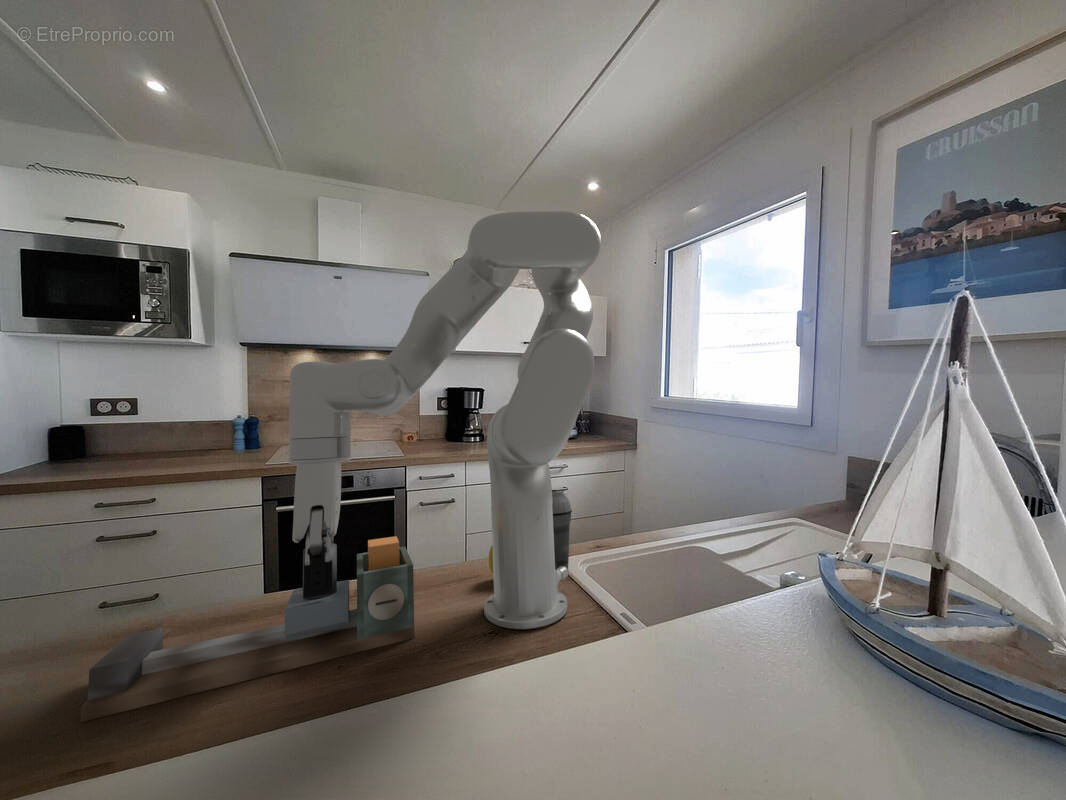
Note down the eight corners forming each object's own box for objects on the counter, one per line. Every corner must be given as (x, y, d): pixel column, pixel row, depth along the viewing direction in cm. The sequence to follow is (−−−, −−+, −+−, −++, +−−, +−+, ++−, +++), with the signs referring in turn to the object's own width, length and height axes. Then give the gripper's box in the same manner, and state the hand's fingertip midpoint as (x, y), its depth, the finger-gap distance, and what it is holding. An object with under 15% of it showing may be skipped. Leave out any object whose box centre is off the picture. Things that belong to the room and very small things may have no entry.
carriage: (349, 608, 56) (349, 537, 57) (348, 629, 50) (348, 550, 50) (293, 619, 53) (294, 545, 54) (284, 643, 47) (285, 559, 48)
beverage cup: (578, 579, 69) (573, 467, 71) (538, 582, 69) (533, 469, 71) (571, 565, 77) (566, 464, 78) (535, 568, 76) (530, 466, 78)
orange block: (396, 563, 58) (396, 536, 58) (399, 571, 54) (399, 542, 55) (368, 568, 56) (368, 540, 56) (368, 577, 53) (368, 547, 53)
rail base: (405, 608, 60) (405, 546, 61) (414, 639, 51) (413, 565, 52) (133, 668, 47) (137, 588, 48) (77, 725, 38) (83, 624, 39)
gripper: (298, 451, 59) (296, 572, 58) (277, 455, 44) (274, 620, 42) (351, 448, 63) (351, 563, 61) (349, 451, 47) (349, 605, 46)
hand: (320, 585), depth 52 cm, fingers open, 5 cm apart
